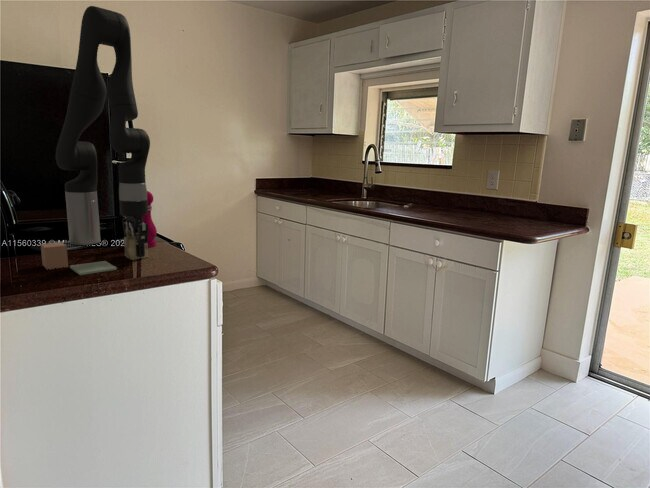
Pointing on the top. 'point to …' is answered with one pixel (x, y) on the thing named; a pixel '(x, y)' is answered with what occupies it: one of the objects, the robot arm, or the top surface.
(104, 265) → the pad
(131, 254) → the maple block
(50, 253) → the terracotta block
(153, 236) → the pepper mill
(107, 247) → the top surface
